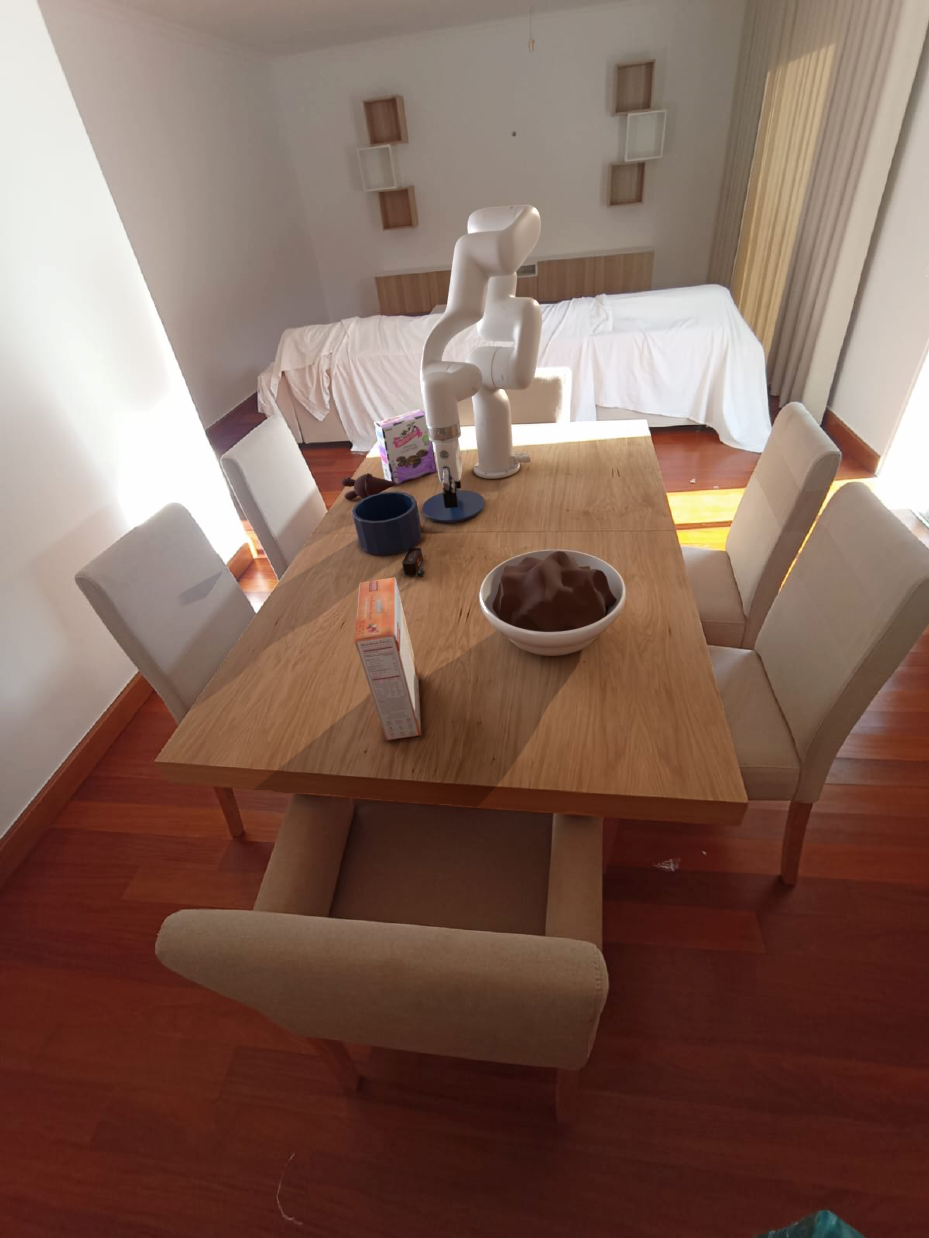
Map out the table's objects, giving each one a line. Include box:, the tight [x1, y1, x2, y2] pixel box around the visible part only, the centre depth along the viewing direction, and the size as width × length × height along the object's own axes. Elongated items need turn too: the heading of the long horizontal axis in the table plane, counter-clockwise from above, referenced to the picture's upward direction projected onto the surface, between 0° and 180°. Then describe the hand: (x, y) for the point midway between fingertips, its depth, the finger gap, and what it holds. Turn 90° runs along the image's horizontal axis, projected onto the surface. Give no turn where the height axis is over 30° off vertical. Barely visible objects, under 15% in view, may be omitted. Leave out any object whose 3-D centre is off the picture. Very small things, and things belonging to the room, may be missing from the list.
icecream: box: [340, 472, 397, 501], centre depth 157 cm, size 7×7×15 cm
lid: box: [421, 483, 486, 523], centre depth 147 cm, size 16×16×7 cm
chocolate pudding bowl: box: [478, 549, 627, 657], centre depth 104 cm, size 25×25×15 cm
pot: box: [351, 491, 423, 557], centre depth 138 cm, size 15×15×8 cm
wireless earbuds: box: [401, 547, 425, 578], centre depth 128 cm, size 5×7×3 cm, turn 167°
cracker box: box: [354, 576, 422, 741], centre depth 91 cm, size 14×6×21 cm, turn 5°
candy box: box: [373, 408, 438, 486], centre depth 162 cm, size 14×6×16 cm, turn 119°
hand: (453, 497), depth 148 cm, fingers open, 9 cm apart
